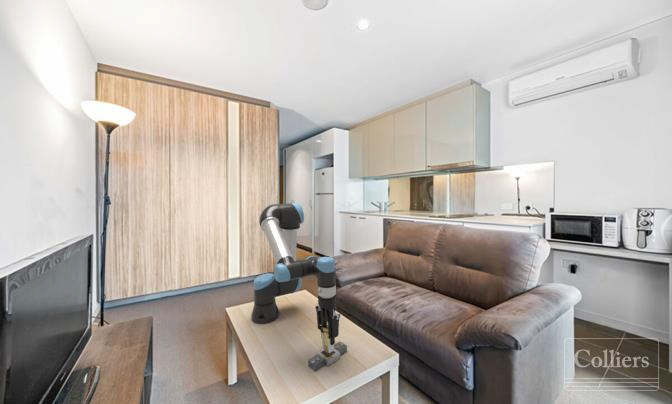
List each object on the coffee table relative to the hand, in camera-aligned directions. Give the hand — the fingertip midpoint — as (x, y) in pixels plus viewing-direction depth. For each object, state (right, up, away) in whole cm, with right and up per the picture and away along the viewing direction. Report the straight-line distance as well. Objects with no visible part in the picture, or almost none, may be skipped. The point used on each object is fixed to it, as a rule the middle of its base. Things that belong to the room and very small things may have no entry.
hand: (328, 349), depth 108 cm
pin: (0, -4, 0) cm, 4 cm away
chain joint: (0, -4, 0) cm, 4 cm away
